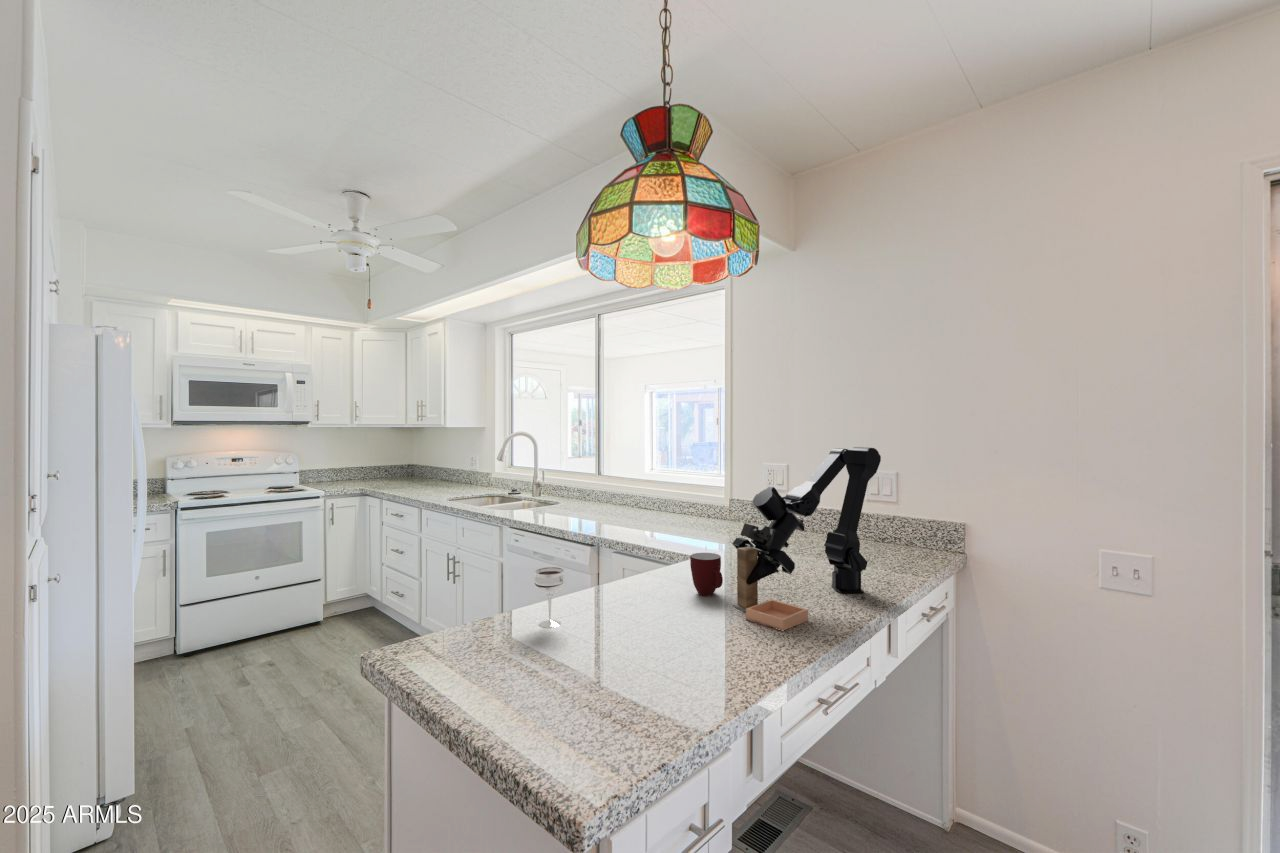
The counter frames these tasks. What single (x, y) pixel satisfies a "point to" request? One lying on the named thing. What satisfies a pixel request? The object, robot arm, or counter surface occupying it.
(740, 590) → the wood grain bar
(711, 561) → the mug
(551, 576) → the wineglass
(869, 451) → the robot arm
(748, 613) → the dish
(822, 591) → the counter surface
